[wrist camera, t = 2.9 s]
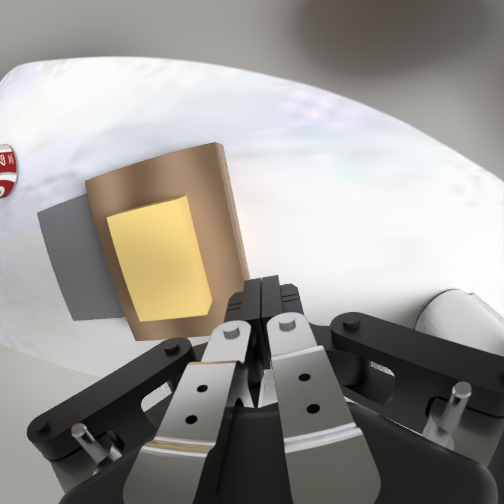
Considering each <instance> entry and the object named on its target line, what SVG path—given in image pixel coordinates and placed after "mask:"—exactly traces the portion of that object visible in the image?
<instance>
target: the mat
mask: <svg viewBox="0 0 504 504" xmlns="http://www.w3.org/2000/svg"><path fill="white" fill-rule="evenodd" d="M37 214H38V218H39V222H40V226H41V230H42V234H43V237H44V241H45V244H46V247H47V251H48V254H49V257H50V260H51V263H52V266H53V269H54V272H55V275H56V278H57V281H58V283H59V286H60V289H61V291H62V294H63V296H64V299H65V301H66V304H67V306H68V309H69V311H70V313H71V316H72V318H73V320H74V321H77V320H92V319H106V318H118V317H126V316H125V313H124V311H123V308H122V305H121V303H120V300H119V297H118V295H117V292H116V289H115V286H114V283H113V281H112V278H111V275H110V272H109V269H108V266H107V263H106V259H105V256H104V253H103V250H102V246H101V243H100V239H99V236H98V232H97V229H96V225H95V221H94V217H93V214H92V210H91V205H90V201H89V197H88V194H86V195H83V196H80V197H77V198H74V199H72V200H69V201H66V202H64V203H61V204H58V205H56V206H53V207H51V208H48V209H46V210H43V211H41V212H38V213H37Z"/></svg>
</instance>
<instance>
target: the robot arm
mask: <svg viewBox="0 0 504 504" xmlns="http://www.w3.org/2000/svg"><path fill="white" fill-rule="evenodd" d="M226 310H227V311H226V314H225V318H224V322H223V324H221V325H219V326H218V327H216V328H215V329H214V331H213V332H212V335H211V337H210V340H209V342H207V343H204V344H200V345H197V346H193V347H192V345H191V342H190V341H189V340H188V339H186V338H183V337H176V338H171V339H168V340H165V341H163V342H161V343H160V344H158V345H157V346H155V347H153V348H152V349H150V350H149V351H147V352H145V353H144V354H142V355H141V356H139V357H137V358H136V359H134V360H132V361H131V362H129V363H128V364H126V365H124V366H123V367H121V368H119V369H118V370H116V371H114V372H113V373H111V374H109V375H108V376H106V377H104V378H103V379H101V380H99V381H98V382H96V383H94V384H93V385H91V386H89V387H88V388H86V389H84V390H83V391H81V392H79V393H78V394H76V395H74V396H72V397H71V398H69V399H67V400H66V401H64V402H62V403H60V404H59V405H57V406H55V407H53V408H52V409H50V410H48V411H46V412H45V413H43V414H41V415H40V416H38V417H36V418H35V419H34V420H33V421H32V422H31V423H30V425H29V426H28V429H27V437H28V439H29V440H30V441H31V442H32V443H33V444H34V446H35V447H36V448H37V449H38V450H39V451H40V452H41V453H42V455H43V456H44V457H45V458H46V459H47V461H48V462H49V463H51V465H52V468H53V470H54V472H55V474H56V476H57V478H58V481H59V483H60V485H61V487H62V489H63V490H64V493H65V495H64V496H63V497H62V499H61V500H60V502H59V504H504V318H503V317H502V316H501V315H500V314H499V313H498V312H496V311H495V310H494V309H493V308H492V307H490V306H489V305H488V304H487V303H486V302H484V301H483V300H482V299H481V298H479V297H478V296H477V295H476V294H471V295H469V294H467V293H466V292H464V291H462V290H459V289H457V290H449V291H446V292H444V293H442V294H440V295H439V296H437V297H436V298H435V299H433V300H432V301H431V302H430V303H429V304H428V305H427V307H426V308H425V309H424V310H423V312H422V313H421V315H420V317H419V319H418V321H417V324H416V326H415V330H413V329H410V328H407V327H404V326H400V325H397V324H394V323H391V322H388V321H385V320H382V319H378V318H375V317H372V316H369V315H366V314H363V313H358V312H349V313H344V314H341V315H339V316H337V317H335V318H334V319H333V320H332V322H331V324H330V326H318V325H314V324H311V323H309V322H308V321H307V318H306V317H305V316H304V312H303V308H302V304H301V300H300V296H299V292H298V288H297V287H296V286H294V285H293V284H285V285H280V283H279V277H278V275H275V276H269V277H263V278H262V280H261V278H257V279H251V280H245V282H244V289H243V292H236V293H234V294H233V295H232V296H231V297H230V298H229V301H228V306H227V309H226ZM270 360H271V365H272V368H273V373H274V380H275V386H276V392H277V399H278V402H277V403H273V404H270V405H267V406H263V407H262V400H263V392H264V381H263V375H264V370H265V369H270ZM371 361H372V362H375V363H377V364H379V365H382V366H384V367H387V368H388V369H390V370H391V371H392V372H393V374H394V375H395V377H394V376H392V375H390V374H387V373H385V372H382V371H380V370H378V369H375V368H373V367H371ZM166 382H167V383H168V386H169V388H170V390H171V392H172V393H171V394H170V395H168V396H167V397H166V398H164V399H163V400H161V401H160V402H159V403H157V404H156V405H154V406H153V407H151V408H150V409H149V410H147V411H145V412H143V410H142V408H141V402H142V400H143V398H144V397H145V396H147V395H148V394H150V393H151V392H152V391H154V390H155V389H157V388H158V387H160V386H161V385H163V384H164V383H166ZM344 396H345V397H347V398H349V399H351V400H353V401H354V402H356V403H358V404H356V403H352V402H346V400H345V398H344ZM359 404H360V405H359ZM387 418H388V419H387ZM389 419H390V420H389ZM391 420H392V421H391ZM393 421H394V422H393ZM395 422H396V423H395ZM397 423H399V424H401V425H403V426H405V427H407V428H409V429H412V430H414V431H416V432H418V433H420V434H423V436H421V435H418V434H416V433H415V432H413V431H411V430H409V429H407V428H405V427H403V426H401V425H399V424H397Z"/></svg>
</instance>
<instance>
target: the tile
mask: <svg viewBox="0 0 504 504" xmlns="http://www.w3.org/2000/svg"><path fill="white" fill-rule="evenodd" d="M106 218H107V222H108V225H109V229H110V233H111V236H112V240H113V243H114V247H115V250H116V253H117V257H118V260H119V263H120V266H121V269H122V272H123V276H124V279H125V282H126V284H127V287H128V290H129V293H130V296H131V299H132V301H133V304H134V307H135V310H136V312H137V315H138V317H139V320H140V322H142V321H153V320H164V319H174V318H183V317H193V316H201V315H207V314H208V311H209V308H210V305H211V303H212V297H211V293H210V289H209V286H208V282H207V278H206V274H205V270H204V266H203V262H202V259H201V255H200V251H199V247H198V242H197V238H196V234H195V230H194V226H193V222H192V217H191V213H190V209H189V204H188V200H187V195H185V196H181V197H176V198H172V199H168V200H164V201H159V202H155V203H151V204H147V205H143V206H140V207H136V208H132V209H128V210H124V211H121V212H118V213H116V214H114V215H111V216H109V217H106Z"/></svg>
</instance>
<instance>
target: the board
mask: <svg viewBox="0 0 504 504" xmlns="http://www.w3.org/2000/svg"><path fill="white" fill-rule="evenodd" d="M85 183H86V188H87V193H88V197H89V201H90V205H91V210H92V214H93V217H94V221H95V225H96V229H97V232H98V236H99V239H100V243H101V246H102V250H103V253H104V256H105V259H106V263H107V266H108V269H109V272H110V275H111V278H112V281H113V283H114V286H115V289H116V292H117V295H118V297H119V300H120V303H121V305H122V308H123V311H124V313H125V316H126V318H127V321H128V323H129V326H130V328H131V331H132V333H133V335H134V338H135V340H136V341H146V340H162V339H171V338H176V337H183V338H188V337H199V336H209V335H212V332H213V331H214V329H215V328H216V327H218V326H219V325H221V324H223V322H224V318H225V314H226V311H227V310H226V309H227V306H228V301H229V298H230V297H231V296H232V295H233V294H234V293H236V292H243V289H244V282H245V280H250V276H249V271H248V266H247V261H246V256H245V251H244V247H243V242H242V237H241V232H240V227H239V222H238V217H237V213H236V208H235V203H234V198H233V193H232V188H231V183H230V178H229V173H228V168H227V163H226V158H225V153H224V148H223V145H221V144H219V143H216V142H214V143H209V144H205V145H201V146H197V147H193V148H189V149H185V150H181V151H177V152H173V153H170V154H166V155H163V156H159V157H156V158H152V159H149V160H145V161H142V162H139V163H136V164H132V165H129V166H126V167H123V168H120V169H117V170H114V171H111V172H108V173H106V174H103V175H100V176H97V177H94V178H92V179H89V180H86V181H85ZM185 195H187V200H188V204H189V209H190V213H191V217H192V222H193V226H194V230H195V234H196V238H197V242H198V247H199V251H200V255H201V259H202V262H203V266H204V270H205V274H206V278H207V282H208V286H209V289H210V293H211V297H212V303H211V305H210V308H209V311H208V314H207V315H201V316H193V317H183V318H174V319H164V320H153V321H142V322H140V320H139V317H138V315H137V312H136V310H135V307H134V304H133V301H132V299H131V296H130V293H129V290H128V287H127V284H126V282H125V279H124V276H123V272H122V269H121V266H120V263H119V260H118V257H117V253H116V250H115V247H114V243H113V240H112V236H111V233H110V229H109V225H108V222H107V218H106V217H109V216H111V215H114V214H116V213H118V212H121V211H124V210H128V209H132V208H136V207H140V206H143V205H147V204H151V203H155V202H159V201H164V200H168V199H172V198H176V197H181V196H185Z"/></svg>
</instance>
